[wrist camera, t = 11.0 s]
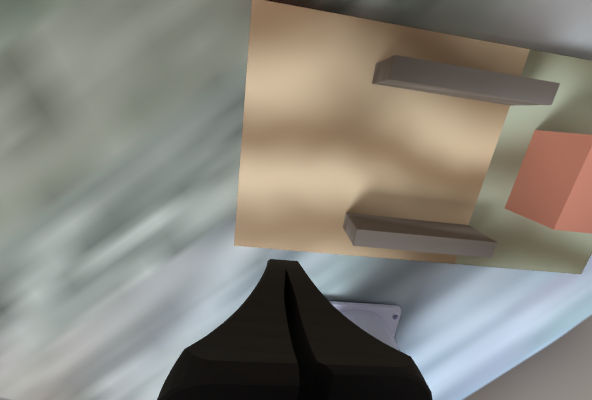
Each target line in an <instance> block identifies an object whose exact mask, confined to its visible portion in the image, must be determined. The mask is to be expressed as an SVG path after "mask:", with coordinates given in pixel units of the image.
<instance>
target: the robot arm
mask: <svg viewBox="0 0 592 400" xmlns="http://www.w3.org/2000/svg"><path fill="white" fill-rule="evenodd" d="M401 313H402V310H401V308H400V307H399V306H397V305H385V304H369V303H353V302H337V301H328V300H327V299H326V298H325V297H324V295H323V294H322V293H321V292H320V291H319V290H318V288H317V287H316V286H315V285H314V283H313V282H312V281H311V279H310V278H309V277H308V275H307V274H306V273H305V271H304V270H303V268H302V267H301V265H300V264H299V262H298V261H288V260H275V259H270V260H269V261H268V263H267V267H266V269H265V272H264V274H263V276H262V277H261V279H260V281H259V283H258V284H257V286H256V287H255V289H254V290H253V291H252V293H251V294H250V296H249V297H248V298H247V299H246V301H245V302H244V303H243V304H242V305H241V306H240V307H239V309H238V310H237V311H236V312H235V313H234V314H232V315H231V316H230V317H229V318H228V319H227V320H226V321H225V322H224V323H223V324H221V325H220V326H219V327H217V328H216V329H215V330H214V331H212V332H211V333H210V334H208V335H207V336H206V337H204V338H202V339H201V340H199V341H197V342H196V343H194V344H192V345H191V346H189V347H187V348H186V349H184V351H183V352H182V353H181V355H180V357H179V358H178V360H177V361H176V363H175V364H174V366H173V368H172V369H171V371H170V373H169V375H168V377H167V379H166V380H165V382H164V384H163V387H162V389H161V391H160V394H159V396H158V399H157V400H432V394H431V391H430V389H429V387H428V385H427V384H426V382H425V380H424V378H423V376H422V374H421V372H420V370H419V369H418V367H417V366H416V364H415V362H414V361H413V359H412V358H411V357H410V356H408V355H406V354H404V353H402V352H401V351H400V350H399V348H398V346H397V344H396V342H395V340H394V336H395V332H396V329H397V326H398V323H399V319H400V316H401ZM393 315H395V316H393Z"/></svg>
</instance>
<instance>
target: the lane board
mask: <svg viewBox="0 0 592 400" xmlns="http://www.w3.org/2000/svg"><path fill="white" fill-rule="evenodd" d="M535 130H541V131H553V132H565V133H577V134H589V135H592V61H591V60H585V59H580V58H574V57H569V56H564V55H558V54H553V53H547V52H542V51H537V50H531V49H526V48H520V47H515V46H509V45H504V44H499V43H493V42H488V41H482V40H477V39H472V38H466V37H461V36H455V35H450V34H444V33H439V32H434V31H428V30H423V29H417V28H412V27H407V26H401V25H396V24H390V23H385V22H380V21H374V20H369V19H363V18H358V17H352V16H347V15H342V14H336V13H331V12H325V11H320V10H315V9H309V8H304V7H298V6H293V5H288V4H282V3H277V2H271V1H266V0H252V8H251V22H250V35H249V49H248V63H247V76H246V90H245V104H244V118H243V131H242V145H241V159H240V172H239V186H238V200H237V214H236V227H235V241H234V246H246V247H258V248H270V249H282V250H294V251H306V252H318V253H331V254H343V255H355V256H367V257H379V258H391V259H403V260H415V261H427V262H439V263H451V264H463V265H475V266H488V267H500V268H512V269H524V270H536V271H548V272H560V273H572V274H581V273H582V271H583V269H584V268H585V266H586V264H587V262H588V260H589V258H590V256H591V254H592V234H591V233H581V232H571V231H561V230H553V229H551V228H549V227H546V226H544V225H542V224H539V223H537V222H535V221H532V220H530V219H528V218H525V217H523V216H521V215H519V214H516V213H514V212H512V211H509V210H507V209H505V206H506V203H507V201H508V198H509V196H510V193H511V190H512V188H513V185H514V183H515V180H516V177H517V175H518V172H519V170H520V167H521V165H522V162H523V159H524V157H525V154H526V152H527V149H528V146H529V144H530V141H531V139H532V136H533V133H534V131H535Z"/></svg>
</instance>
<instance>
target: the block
mask: <svg viewBox="0 0 592 400" xmlns="http://www.w3.org/2000/svg"><path fill="white" fill-rule="evenodd" d="M505 209H507V210H509V211H512V212H514V213H516V214H519V215H521V216H523V217H525V218H528V219H530V220H532V221H535V222H537V223H539V224H542V225H544V226H546V227H549V228H551V229H553V230H561V231H571V232H581V233H591V234H592V135H589V134H577V133H565V132H553V131H541V130H535V131H534V133H533V136H532V139H531V141H530V144H529V146H528V149H527V152H526V154H525V157H524V159H523V162H522V165H521V167H520V170H519V172H518V175H517V177H516V180H515V183H514V185H513V188H512V190H511V193H510V196H509V198H508V201H507V203H506V206H505Z"/></svg>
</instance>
